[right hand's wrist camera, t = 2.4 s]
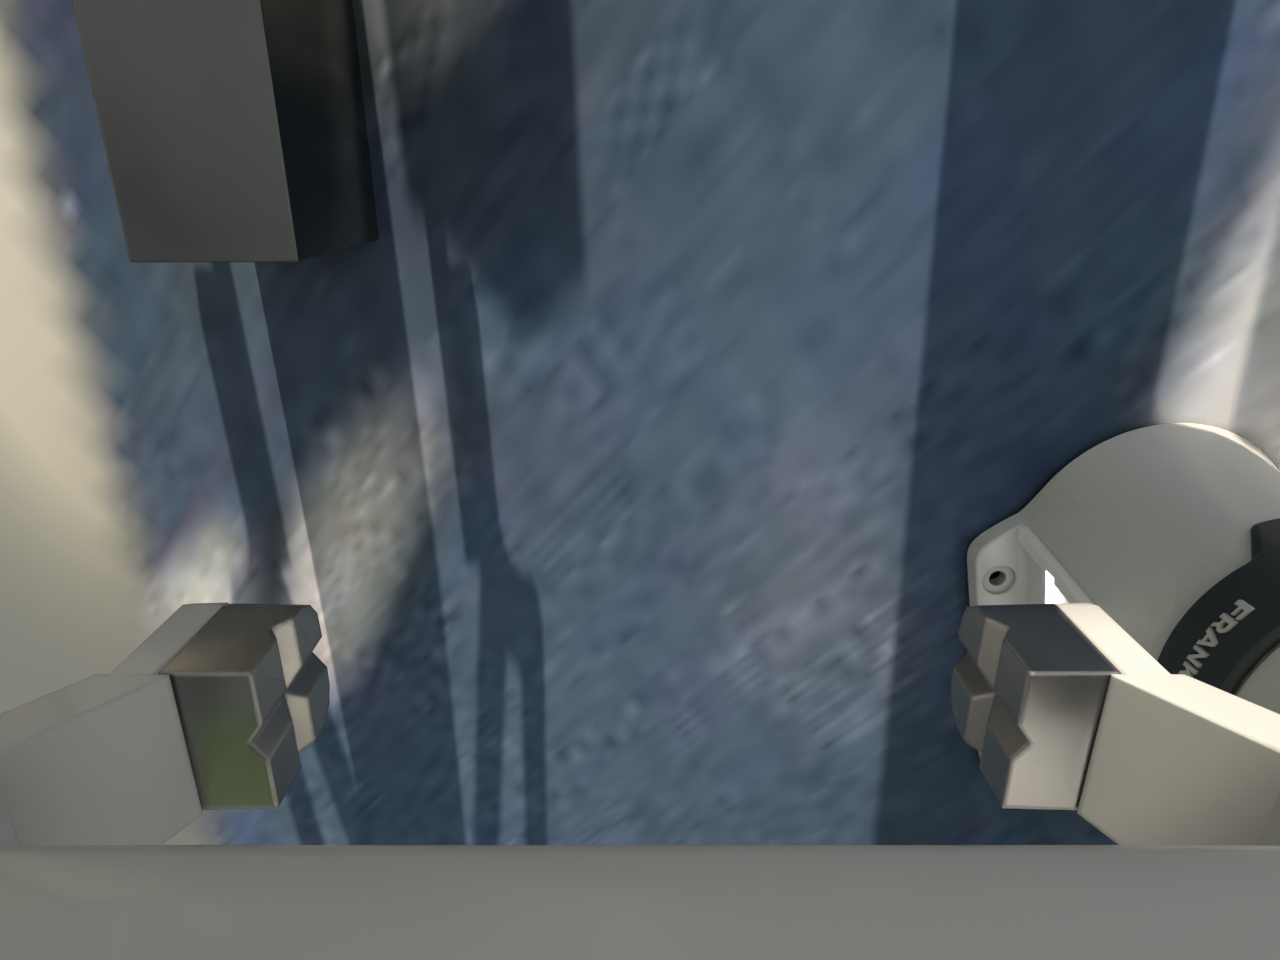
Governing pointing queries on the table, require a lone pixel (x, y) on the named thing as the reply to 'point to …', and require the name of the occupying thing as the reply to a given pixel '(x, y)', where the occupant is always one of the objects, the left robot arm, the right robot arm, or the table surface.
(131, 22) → the bar
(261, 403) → the table surface
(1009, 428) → the table surface
